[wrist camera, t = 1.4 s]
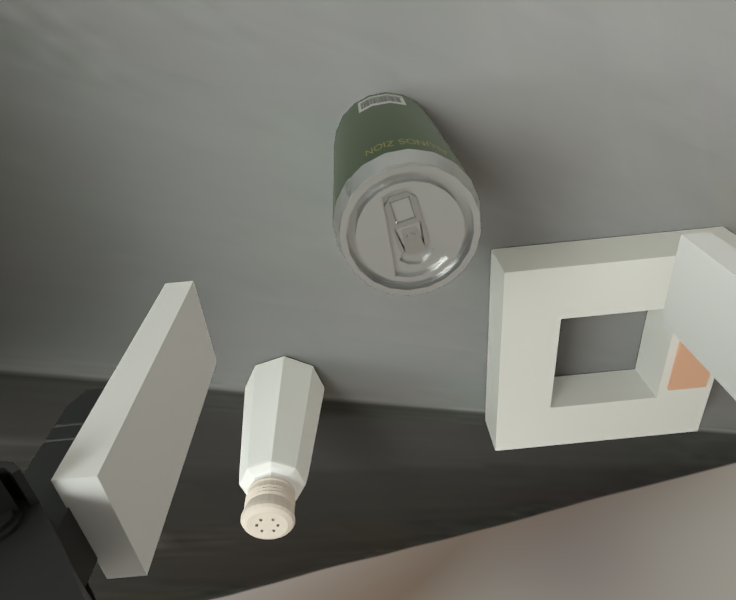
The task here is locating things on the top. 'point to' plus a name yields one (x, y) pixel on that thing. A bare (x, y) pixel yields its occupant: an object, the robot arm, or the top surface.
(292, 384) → the salt shaker
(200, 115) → the top surface
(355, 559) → the top surface
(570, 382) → the socket block
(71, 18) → the top surface
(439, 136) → the beer can
